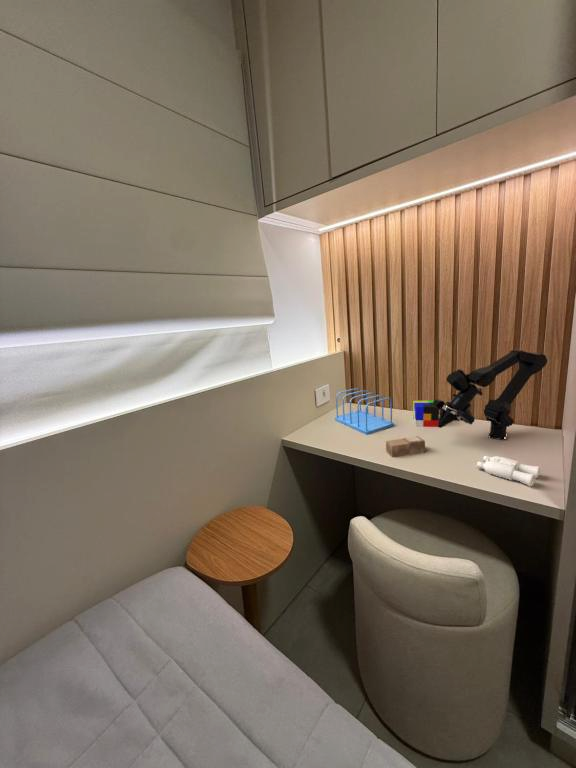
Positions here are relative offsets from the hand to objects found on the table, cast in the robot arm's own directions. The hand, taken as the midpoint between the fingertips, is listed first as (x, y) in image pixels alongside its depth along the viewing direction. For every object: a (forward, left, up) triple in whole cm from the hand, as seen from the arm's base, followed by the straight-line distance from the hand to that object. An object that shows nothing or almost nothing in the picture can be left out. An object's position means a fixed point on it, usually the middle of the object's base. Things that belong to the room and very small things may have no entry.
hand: (438, 427), depth 130 cm
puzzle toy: (-24, -10, -9) cm, 28 cm away
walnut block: (+6, -5, -6) cm, 10 cm away
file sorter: (-12, -37, -9) cm, 40 cm away
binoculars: (+12, +24, -9) cm, 28 cm away
